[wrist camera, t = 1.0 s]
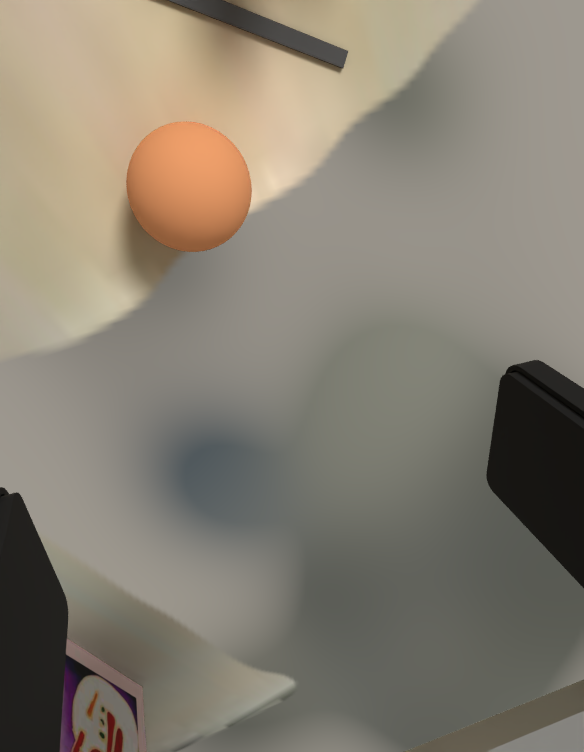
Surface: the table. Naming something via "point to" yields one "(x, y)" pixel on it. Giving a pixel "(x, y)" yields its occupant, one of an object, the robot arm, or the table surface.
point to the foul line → (267, 29)
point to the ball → (188, 186)
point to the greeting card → (99, 707)
